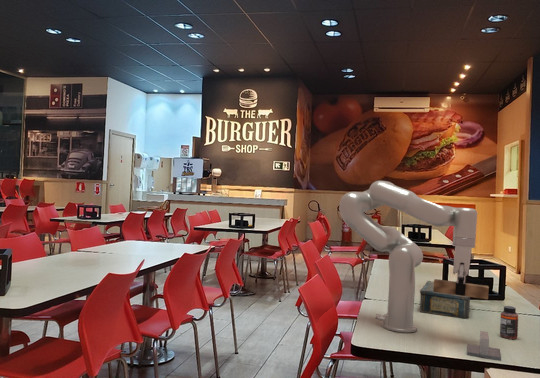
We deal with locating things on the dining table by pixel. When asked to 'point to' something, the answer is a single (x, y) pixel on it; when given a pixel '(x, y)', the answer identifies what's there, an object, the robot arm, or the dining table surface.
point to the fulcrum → (483, 348)
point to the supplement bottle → (509, 323)
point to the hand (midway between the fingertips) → (460, 293)
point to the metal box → (443, 302)
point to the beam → (470, 289)
